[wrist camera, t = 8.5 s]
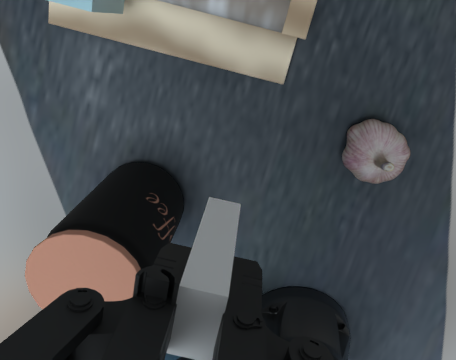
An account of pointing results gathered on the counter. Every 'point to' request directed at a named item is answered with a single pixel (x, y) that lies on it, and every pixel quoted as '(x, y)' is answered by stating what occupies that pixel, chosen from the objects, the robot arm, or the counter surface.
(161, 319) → the robot arm
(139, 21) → the pipe stand
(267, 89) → the counter surface
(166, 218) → the coffee jar
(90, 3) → the collar
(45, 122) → the counter surface
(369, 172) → the garlic bulb
